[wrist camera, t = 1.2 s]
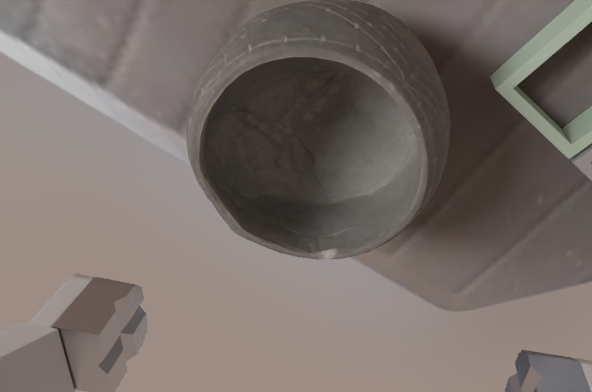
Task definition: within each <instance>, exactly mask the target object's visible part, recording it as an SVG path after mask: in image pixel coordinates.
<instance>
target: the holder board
mask: <svg viewBox="0 0 592 392" xmlns="http://www.w3.org/2000/svg"><path fill="white" fill-rule="evenodd" d="M590 22H592V0H575V1H573V2H572V3H571V4H570V5H569V6H568V7H567V8H566V9H565V10H563V11H562V12H561V13H560V14H559V15H558V16H557V17H556V18H554V19H553V20H552V21H551V22H550V23H549V24H548V25H547V26H545V27H544V28H543V29H542V30H541V31H540V32H539V33H538V34H537V35H535V36H534V37H533V38H532V39H531V40H530V41H529V42H528V43H526V44H525V45H524V46H523V47H522V48H521V49H520V50H519V51H517V52H516V53H515V54H514V55H513V56H512V57H511V58H510V59H509V60H507V61H506V62H505V63H504V64H503V65H502V66H501V67H500V68H498V69H497V70H496V71H495V72H494V73H493V74H492V75H491V76H490V78H491V80H492V83H493V85H494V87H495V89H496V90H497V91H498V92H499V93H500V94H501V95H502V96H503V97H504V98H505V99H506V100H507V101H508V102H509V103H510V104H511V105H512V106H513V107H515V108H516V109H517V110H518V111H519V112H520V113H521V114H522V115H523V116H524V117H525V118H526V119H527V120H528V121H529V122H530V123H531V124H532V125H533V126H534V127H535V128H537V129H538V130H539V131H540V132H541V133H542V134H543V135H544V136H545V137H546V138H547V139H548V140H549V141H550V142H551V143H552V144H553V145H554V146H555V147H556V148H558V149H559V150H560V151H561V152H562V153H563V154H564V155H565V156H566V157H567V158H568V159H571V161H572V163H573V164H574V165H575V166H576V167H577V168H578V169H580V170H581V171H582V172H583V173H584V174H585V175H586V176H587V177H588V178H589V179H590V180H591V181H592V106H591V107H590V108H588V109H587V110H586V111H584V112H583V113H582V114H580V115H579V116H578V117H576V118H575V119H574V120H572V121H571V122H570V123H568V124H567V125H566V126H565V127H563V128H562V129H561V128H560V127H559V126H558V125H557V124H556V123H555V122H554V121H553V120H552V119H551V118H550V117H549V116H548V115H547V114H546V113H545V112H544V111H543V110H542V109H541V108H540V107H539V106H537V105H536V104H535V103H534V102H533V101H532V100H531V99H530V98H529V97H528V96H527V95H526V94H525V93H524V92H523V91H522V90H521V89H520V88H519V87H518V86H517V85H518V84H519V83H520V82H521V81H522V80H524V79H525V78H526V77H527V76H528V75H529V74H531V73H532V72H533V71H534V70H535V69H537V68H538V67H539V66H540V65H541V64H542V63H544V62H545V61H546V60H547V59H548V58H549V57H551V56H552V55H553V54H554V53H555V52H556V51H558V50H559V49H560V48H561V47H562V46H563V45H565V44H566V43H567V42H568V41H569V40H571V39H572V38H573V37H574V36H575V35H576V34H578V33H579V32H580V31H581V30H582V29H583V28H585V27H586V26H587V25H588V24H589V23H590Z"/></svg>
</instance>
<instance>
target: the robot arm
mask: <svg viewBox="0 0 592 392" xmlns="http://www.w3.org/2000/svg"><path fill="white" fill-rule="evenodd" d="M143 299H144V297H143V292H142V288H141V287H140V286H138V285H135V284H129V283H124V282H119V281H114V280H109V279H104V278H99V277H97V278H96V277H91V276H86V275H81V274H75V275H73V276H71V277H70V278H69V279H68V280H67V281H66V282H65V283H64V284H63V285H62V286H61V287H60V289H59V290H58V291H57V292H56V293H55V294H54V295H53V296H52V298H51V299H50V300H49V301H48V302H47V303H46V304H45V305H44V307H43V308H42V309H41V310H40V311H39V312H38V313H37V314H36V315H35V317H34V318H33V319H32V320H31V321H30V322H29V323H23V322H22V323H19V324H17V325H15V326H13V327H11V328H9V329H6V330H4V331H2V332H0V392H75V389H76V390H82V391H88V392H115V390H116V388H117V387H118V385H119V383H120V382H121V380H122V378H123V377H124V375H125V373H126V372H127V368H126V362H125V361H127V360H129V359H130V358H132V357H133V356H135V355H137V353H138V351H139V349H140V348H141V346H142V344H143V341H144V338H145V334H146V329H147V318H146V313H145V312H144V311H143V309H142V308H141V307H140V306H139V305H140V304H141V302H142V301H143ZM515 365H516V370H517V373H516V374H515V375H513V376H511V377H509V379H508V382H507V385H506V388H505V392H592V361H590V360H583V359H577V358H575V359H573V358H570V357H564V356H558V355H551V354H545V353H539V352H533V351H526V350H522V351H521V352H520V353H519V354H518V357H517V359H516V362H515Z"/></svg>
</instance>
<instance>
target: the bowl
mask: <svg viewBox="0 0 592 392" xmlns="http://www.w3.org/2000/svg"><path fill="white" fill-rule="evenodd" d="M450 131H451V121H450V113H449V107H448V101H447V97H446V93H445V90H444V87H443V85H442V82H441V79H440V76H439V74H438V71H437V69H436V67H435V65H434V63H433V60H432V59H431V57H430V55H429V53H428V52H427V50H426V49H425V47H424V46H423V44H422V43H421V42H420V40H419V39H418V37H417V36H416V35H415V34H414V33H413V32H412V31H411V30H410V29H409V28H408V27H407V26H406V25H405V24H404V23H403V22H401V21H400V20H398V19H397V18H395V17H394V16H392V15H391V14H389V13H388V12H386V11H384V10H382V9H380V8H377V7H375V6H373V5H369V4H365V3H361V2H357V1H350V0H316V1H305V2H299V3H293V4H288V5H285V6H281V7H277V8H275V9H272V10H270V11H267V12H265V13H262V14H260V15H258V16H256V17H255V18H253V19H252V20H250V21H249V22H247V23H246V24H244V25H243V26H242V27H241V28H240V29H239V30H238V31H237V32H236V33H235V34H234V35H233V36H232V37H231V38H230V39H229V40H228V41H227V42H226V43H225V44H224V45H223V47H222V48H221V49H220V50H219V52H218V53H217V54H216V55H215V57H214V58H213V59H212V60H211V62H210V63H209V65H208V66H207V67H206V69H205V70H204V72H203V73H202V75H201V76H200V78H199V80H198V82H197V84H196V87H195V90H194V92H193V95H192V98H191V102H190V106H189V112H188V120H187V148H188V155H189V160H190V163H191V166H192V169H193V171H194V174H195V176H196V179H197V181H198V183H199V185H200V186H201V188H202V190H203V191H204V193H205V194H206V196H207V198H208V199H209V200H210V201H211V202H212V204H213V205H214V207H215V208H216V210H217V211H218V212H219V214H220V215H221V217H222V218H223V219H224V220H225V222H226V223H227V224H228V225H229V227H230V228H231V229H232V230H233V231H234V232H235V233H236V234H238V235H240V236H242V237H244V238H246V239H248V240H250V241H253V242H255V243H257V244H260V245H262V246H264V247H266V248H269V249H272V250H274V251H277V252H280V253H284V254H288V255H292V256H297V257H303V258H312V259H341V258H346V257H351V256H356V255H359V254H362V253H366V252H369V251H371V250H373V249H375V248H377V247H379V246H381V245H383V244H385V243H387V242H389V241H390V240H391V239H393V238H394V237H395V236H397V235H398V234H399V233H400V232H402V231H403V230H404V229H405V228H406V227H407V226H409V225H410V224H411V223H412V222H413V221H414V220H415V219H416V217H417V216H418V215H419V214H420V213H421V212H422V211H423V210H424V209H425V207H426V206H427V205H428V203H429V202H430V201H431V199H432V197H433V195H434V194H435V192H436V190H437V188H438V186H439V184H440V181H441V179H442V176H443V172H444V169H445V166H446V163H447V157H448V150H449V143H450Z"/></svg>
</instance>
